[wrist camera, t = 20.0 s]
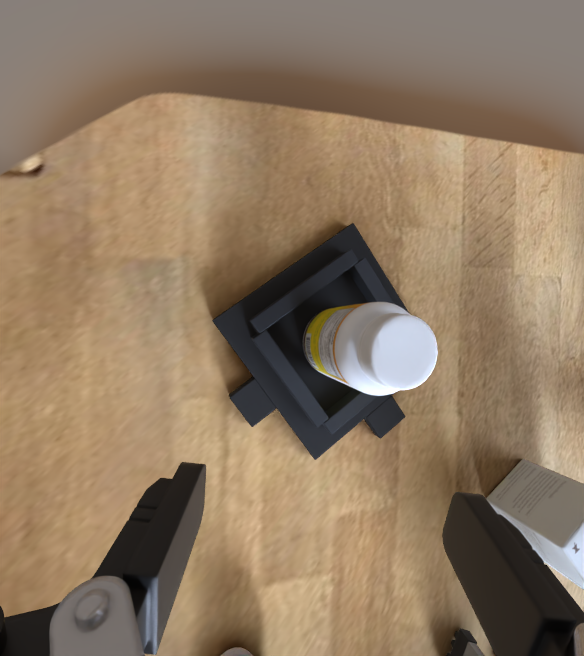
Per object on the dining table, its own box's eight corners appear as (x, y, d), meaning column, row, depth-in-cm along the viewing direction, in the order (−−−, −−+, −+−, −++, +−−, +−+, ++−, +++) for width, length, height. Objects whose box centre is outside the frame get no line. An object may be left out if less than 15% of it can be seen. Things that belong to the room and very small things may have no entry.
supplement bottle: (376, 335, 27) (470, 343, 17) (337, 388, 26) (412, 428, 17) (328, 293, 26) (399, 275, 16) (286, 346, 25) (333, 362, 15)
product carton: (512, 540, 32) (597, 602, 25) (483, 497, 31) (562, 549, 24) (550, 498, 34) (641, 546, 26) (523, 455, 33) (610, 493, 25)
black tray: (185, 338, 25) (182, 340, 22) (348, 226, 28) (361, 216, 25) (305, 495, 27) (314, 512, 25) (442, 376, 30) (462, 381, 28)
